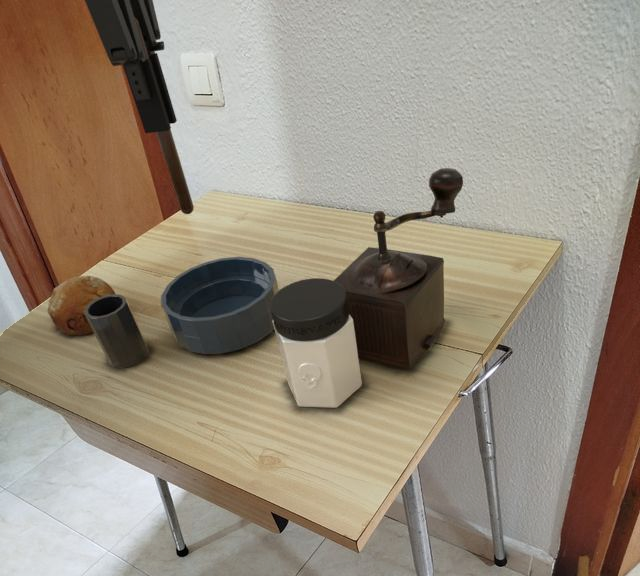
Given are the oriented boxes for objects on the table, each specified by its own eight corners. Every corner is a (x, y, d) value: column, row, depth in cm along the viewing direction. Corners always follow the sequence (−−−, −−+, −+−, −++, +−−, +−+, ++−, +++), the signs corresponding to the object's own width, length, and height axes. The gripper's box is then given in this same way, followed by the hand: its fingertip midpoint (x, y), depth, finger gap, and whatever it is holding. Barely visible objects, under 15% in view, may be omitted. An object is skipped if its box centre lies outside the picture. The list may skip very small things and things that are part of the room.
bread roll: (122, 315, 95) (97, 268, 92) (132, 315, 86) (104, 262, 83) (64, 342, 92) (36, 294, 89) (67, 344, 83) (36, 291, 80)
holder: (103, 369, 79) (77, 319, 73) (117, 344, 83) (94, 295, 77) (140, 367, 78) (117, 317, 72) (153, 342, 82) (132, 292, 76)
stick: (180, 217, 70) (117, 17, 56) (184, 211, 71) (122, 14, 57) (193, 216, 70) (132, 15, 56) (196, 210, 71) (138, 11, 57)
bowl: (161, 361, 78) (145, 324, 74) (192, 297, 89) (179, 261, 85) (273, 355, 75) (263, 316, 71) (291, 290, 86) (283, 252, 82)
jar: (279, 408, 68) (256, 321, 59) (296, 363, 73) (276, 278, 65) (356, 410, 65) (342, 321, 57) (367, 364, 71) (356, 276, 63)
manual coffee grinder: (414, 374, 68) (406, 228, 56) (334, 353, 74) (310, 215, 61) (467, 303, 77) (471, 163, 64) (392, 288, 82) (382, 156, 70)
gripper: (70, -195, 42) (174, 148, 58) (137, -190, 52) (210, 101, 68) (-23, -174, 43) (104, 156, 59) (60, -172, 53) (150, 109, 70)
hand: (161, 126), depth 64 cm, fingers closed on stick, 1 cm apart
